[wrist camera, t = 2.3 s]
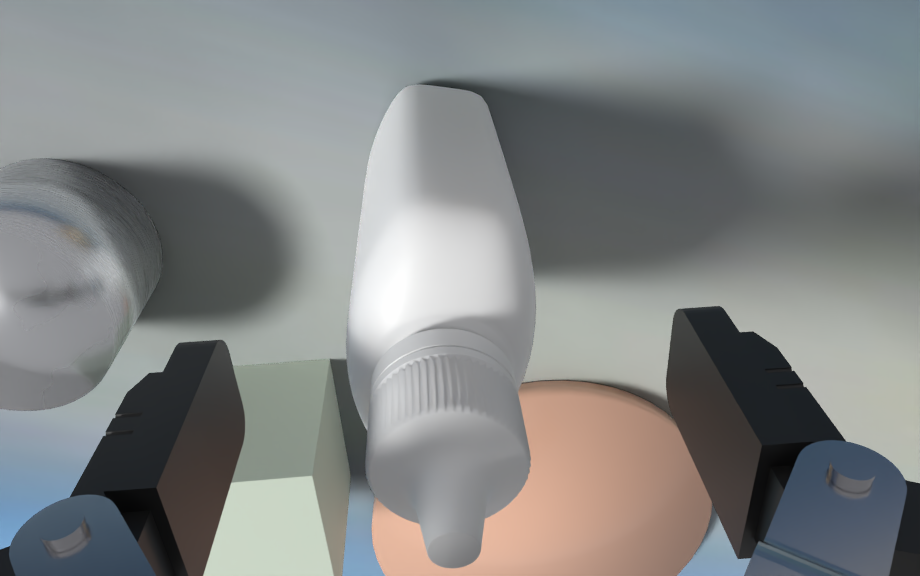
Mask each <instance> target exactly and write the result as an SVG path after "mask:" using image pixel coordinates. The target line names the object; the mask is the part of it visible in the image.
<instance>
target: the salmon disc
mask: <svg viewBox="0 0 920 576" xmlns="http://www.w3.org/2000/svg"><path fill="white" fill-rule="evenodd" d="M518 395H519V400H520V405H521V409H522V414H523V419H524V424H525V429H526V434H527V439H528V444H529V449H530V456H531V461H530V463H531V467H530V468H529V469H530V473H529V474H528V479H527V480H526V482H525V485H524V486H523V488H522V490H521V492H520V493H519V494H518V496H517V497H516V498H514V499H513V501H512V502H511V503H509V504H508V505H507V506H506V507H504V508H503V509H502V510H500V511H499V512H497V513H496V514H494V515H492V516H490V517H488V518H485V521H484V529H483V537H482V546H481V552H480V555H479V557H478V558H477V559H476V560H475V561H474V562H473V563H471V564H469V565H467V566H464V567H461V568H444V567H440V566H438V565H436V564H434V563H433V562H432V561H431V560H430V559H429V557H428V555H427V551H426V547H425V543H424V539H423V535H422V532H421V528H420V524H418V523H415V522H412V521H409V520H406V519H404V518H402V517H400V516H398V515H396V514H395V513H393V512H391V511H390V510H389V509H388V508H386V507H385V506H383V504H382V503H381V502H379V501H378V498H377V497H375V496H374V504H373V516H372V538H373V546H374V550H375V554H376V557H377V560H378V562H379V564H380V566H381V568H382V570H383V572H384V574H385V575H386V576H676V575H678V574H679V573H680V572H681V570H682V569H683V568H684V567H685V566H686V565H687V563H688V562H689V561H690V560H691V558H692V557H693V555H694V554H695V552H696V551H697V549H698V548H699V546H700V544H701V542H702V540H703V538H704V535H705V533H706V531H707V528H708V524H709V521H710V517H711V509H712V501H711V499H710V497H709V494H708V492H707V490H706V488H705V486H704V484H703V481H702V479H701V477H700V475H699V473H698V470H697V468H696V466H695V464H694V462H693V459H692V457H691V455H690V453H689V451H688V448H687V446H686V444H685V442H684V440H683V438H682V435H681V433H680V431H679V429H678V427H677V424H676V422H675V420H674V419H673V418H672V417H671V416H670V415H668V414H667V413H666V412H665V411H663V410H662V409H660V408H658V407H657V406H655V405H654V404H652V403H651V402H649V401H647V400H645V399H643V398H640V397H638V396H636V395H634V394H632V393H629V392H626V391H623V390H619V389H616V388H613V387H610V386H605V385H599V384H594V383H589V382H577V381H538V382H530V383H523V384H521V386H520V388H519V390H518Z"/></svg>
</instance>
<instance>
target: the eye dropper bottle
mask: <svg viewBox="0 0 920 576" xmlns="http://www.w3.org/2000/svg"><path fill="white" fill-rule="evenodd" d="M535 318H536V296H535V280H534V271H533V265H532V260H531V253H530V247H529V243H528V239H527V234H526V230H525V226H524V223H523V219H522V215H521V212H520V208H519V204H518V201H517V198H516V194H515V191H514V188H513V185H512V181H511V178H510V175H509V171H508V168H507V165H506V162H505V158H504V155H503V152H502V149H501V146H500V143H499V139H498V136H497V133H496V130H495V127H494V123H493V120H492V117H491V114H490V111H489V108H488V105H487V104H486V102H485V101H484V100H483V98H482V97H481V96H480V95H478V94H476V93H474V92H471V91H467V90H461V89H454V88H447V87H439V86H432V85H421V84H417V85H411V86H406V87H405V88H404V89H403V90H401V91H400V92H399V93H398V94H397V95H396V97H395V98H394V100H393V101H392V103H391V105H390V106H389V108H388V110H387V112H386V114H385V116H384V118H383V120H382V122H381V124H380V127H379V129H378V132H377V134H376V137H375V140H374V143H373V146H372V149H371V153H370V157H369V161H368V167H367V172H366V179H365V187H364V195H363V202H362V210H361V218H360V226H359V234H358V241H357V249H356V257H355V265H354V273H353V281H352V289H351V297H350V306H349V314H348V323H347V339H346V354H347V368H348V376H349V382H350V387H351V392H352V395H353V398H354V402H355V405H356V408H357V410H358V413H359V415H360V418H361V420H362V422H363V424H364V426H365V428H366V429H367V444H366V459H365V472H366V478H367V479H368V484H369V486H370V487H371V488H370V490H371V491H372V492H373V493H374V496H375V497H377V498H378V501H379V502H381V503H382V504H383V506H385V507H386V508H388V509H389V510H390V511H391V512H393V513H395V514H396V515H398V516H400V517H402V518H404V519H406V520H409V521H412V522H415V523H418V524H420V528H421V532H422V535H423V539H424V543H425V547H426V551H427V555H428V557H429V559H430V560H431V561H432V562H433V563H434V564H436V565H438V566H440V567H444V568H461V567H464V566H467V565H469V564H471V563H473V562H474V561H475V560H476V559H477V558H478V557H479V555H480V552H481V546H482V537H483V529H484V521H485V518H488V517H490V516H492V515H494V514H496V513H497V512H499V511H500V510H502V509H503V508H504V507H506V506H507V505H508V504H509V503H511V502H512V501H513V499H514V498H516V497H517V496H518V494H519V493H520V492H521V490H522V488H523V486H524V485H525V482H526V480H527V479H528V474H529V473H530V469H529V468H530V467H531V463H530V461H531V456H530V449H529V444H528V439H527V434H526V429H525V424H524V419H523V414H522V409H521V405H520V400H519V395H518V390H519V388H520V386H521V384H522V381H523V378H524V376H525V373H526V369H527V366H528V362H529V359H530V355H531V350H532V345H533V338H534V330H535Z"/></svg>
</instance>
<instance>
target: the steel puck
mask: <svg viewBox="0 0 920 576" xmlns="http://www.w3.org/2000/svg"><path fill="white" fill-rule="evenodd" d="M162 263H163V254H162V246H161V242H160V238H159V235H158V232H157V230H156V227H155V225H154V224H153V222H152V220H151V218H150V216H149V215H148V213H147V212H146V211H145V209H144V208H143V206H142V205H141V204H140V203H139V202H138V201H137V200H136V199H135V197H133V196H132V195H131V194H130V193H129V192H128V191H127V190H126V189H125V188H123V187H122V186H121V185H119V184H118V183H116V182H115V181H114V180H112V179H110V178H109V177H107V176H105V175H104V174H102V173H100V172H97V171H95V170H93V169H91V168H89V167H86V166H83V165H80V164H77V163H73V162H68V161H64V160H56V159H30V160H23V161H19V162H16V163H12V164H9V165H7V166H5V167H3V168H0V409H6V410H17V411H37V410H45V409H51V408H55V407H59V406H63V405H66V404H68V403H71V402H74V401H76V400H77V399H79V398H81V397H83V396H85V395H86V394H87V393H89V392H90V391H91V390H93V389H94V388H95V387H96V386H97V385H98V384H99V383H100V381H101V380H102V379H103V377H104V376H105V374H106V373H107V371H108V369H109V368H110V366H111V364H112V362H113V361H114V359H115V357H116V355H117V354H118V352H119V350H120V348H121V347H122V345H123V343H124V342H125V340H126V338H127V336H128V335H129V333H130V331H131V329H132V328H133V326H134V324H135V322H136V321H137V319H138V317H139V315H140V314H141V312H142V310H143V309H144V307H145V305H146V303H147V302H148V300H149V298H150V296H151V295H152V293H153V291H154V289H155V288H156V286H157V283H158V281H159V279H160V275H161V271H162Z"/></svg>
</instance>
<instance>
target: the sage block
mask: <svg viewBox="0 0 920 576" xmlns="http://www.w3.org/2000/svg"><path fill="white" fill-rule="evenodd" d="M233 369H234V373H235V377H236V380H237V384H238V388H239V392H240V396H241V400H242V403H243V408H244V413H245V436H244V442H243V446H242V449H241V452H240V455H239V459H238V462H237V465H236V469H235V472H234V475H233V479H232V482H231V485H230V489H229V492H228V495H227V499H226V502H225V505H224V509H223V512H222V515H221V518H220V522H219V525H218V528H217V532H216V535H215V538H214V542H213V545H212V548H211V552H210V555H209V558H208V562H207V565H206V568H205V572H204V575H203V576H342V570H343V559H344V548H345V537H346V525H347V514H348V503H349V492H350V480H351V474H350V469H349V463H348V457H347V452H346V446H345V441H344V435H343V430H342V424H341V418H340V413H339V407H338V402H337V396H336V391H335V385H334V379H333V374H332V368H331V363H330V359H321V360H309V361H296V362H283V363H271V364H258V365H245V366H233Z"/></svg>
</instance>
